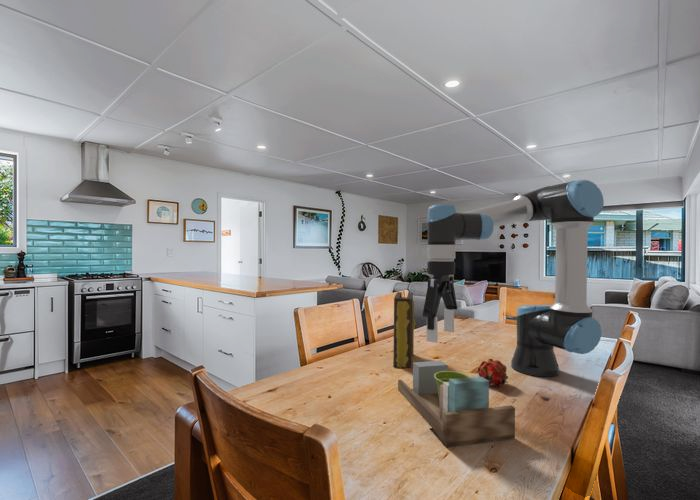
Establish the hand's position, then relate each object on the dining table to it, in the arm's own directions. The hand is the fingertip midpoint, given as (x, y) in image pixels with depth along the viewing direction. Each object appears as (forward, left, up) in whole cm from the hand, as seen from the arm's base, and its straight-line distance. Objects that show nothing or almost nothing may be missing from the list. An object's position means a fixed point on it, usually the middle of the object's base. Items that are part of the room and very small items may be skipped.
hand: (441, 336), depth 98 cm
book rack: (+1, +7, -18) cm, 20 cm away
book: (-4, -38, -19) cm, 42 cm away
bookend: (+1, -5, -17) cm, 18 cm away
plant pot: (+1, +8, -18) cm, 19 cm away
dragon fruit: (-22, -8, -19) cm, 30 cm away
